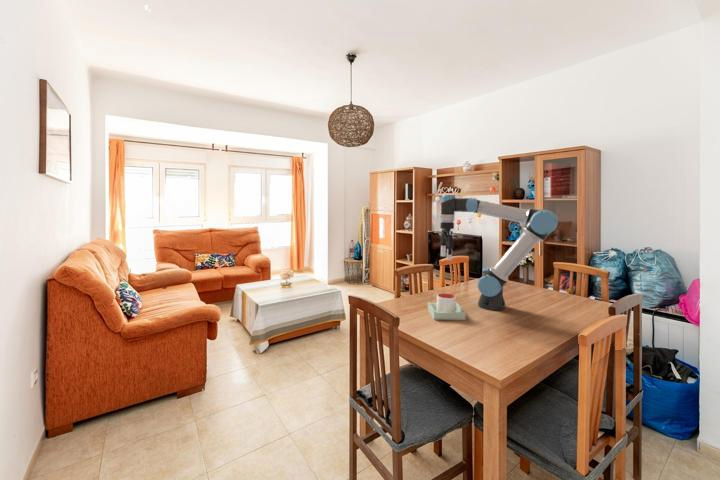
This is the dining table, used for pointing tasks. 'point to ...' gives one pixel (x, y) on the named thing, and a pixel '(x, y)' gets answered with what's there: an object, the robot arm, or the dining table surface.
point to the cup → (446, 302)
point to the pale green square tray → (446, 313)
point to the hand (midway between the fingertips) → (446, 258)
